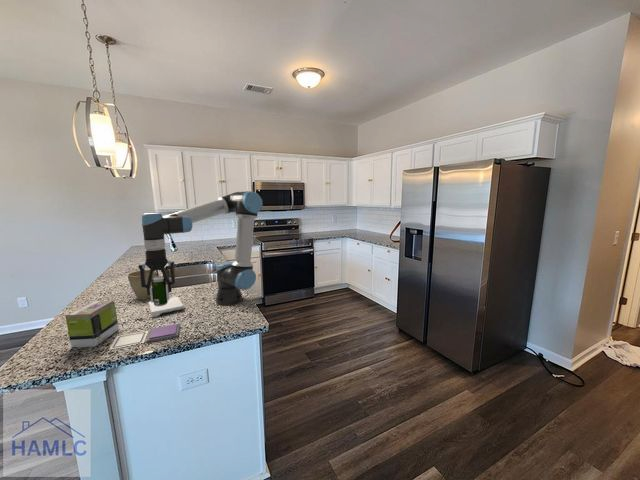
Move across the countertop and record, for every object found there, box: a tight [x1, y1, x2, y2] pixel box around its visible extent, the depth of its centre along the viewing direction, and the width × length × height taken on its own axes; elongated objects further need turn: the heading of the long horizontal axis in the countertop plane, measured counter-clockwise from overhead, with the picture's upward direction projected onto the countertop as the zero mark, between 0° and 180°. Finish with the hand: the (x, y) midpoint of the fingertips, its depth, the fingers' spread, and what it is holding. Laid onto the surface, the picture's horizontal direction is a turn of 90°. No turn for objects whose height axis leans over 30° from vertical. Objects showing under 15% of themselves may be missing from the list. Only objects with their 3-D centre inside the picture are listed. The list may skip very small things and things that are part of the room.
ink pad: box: [145, 323, 181, 344], centre depth 122 cm, size 12×12×2 cm
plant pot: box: [126, 269, 157, 300], centre depth 168 cm, size 15×15×16 cm
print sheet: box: [108, 330, 149, 351], centre depth 117 cm, size 12×12×1 cm
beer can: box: [151, 276, 168, 306], centre depth 119 cm, size 5×5×12 cm
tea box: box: [64, 300, 120, 348], centre depth 118 cm, size 15×10×15 cm
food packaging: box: [148, 296, 185, 318], centre depth 151 cm, size 15×3×20 cm
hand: (160, 300), depth 120 cm, fingers closed on beer can, 5 cm apart
